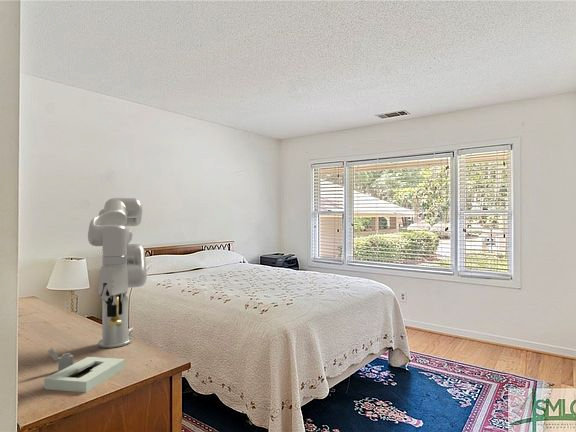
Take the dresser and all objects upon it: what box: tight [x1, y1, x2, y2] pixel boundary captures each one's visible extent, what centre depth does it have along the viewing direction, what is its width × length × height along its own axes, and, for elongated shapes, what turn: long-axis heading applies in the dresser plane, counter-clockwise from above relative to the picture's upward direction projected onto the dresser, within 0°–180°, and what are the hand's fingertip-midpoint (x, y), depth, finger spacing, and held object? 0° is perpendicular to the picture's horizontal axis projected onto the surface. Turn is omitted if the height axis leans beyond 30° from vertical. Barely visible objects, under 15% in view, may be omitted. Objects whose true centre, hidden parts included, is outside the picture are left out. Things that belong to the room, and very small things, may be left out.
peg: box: [108, 295, 122, 326], centre depth 124 cm, size 4×4×10 cm
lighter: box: [47, 347, 74, 372], centre depth 121 cm, size 7×2×8 cm, turn 127°
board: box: [43, 356, 126, 393], centre depth 115 cm, size 18×14×3 cm
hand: (114, 315), depth 124 cm, fingers closed on peg, 2 cm apart
